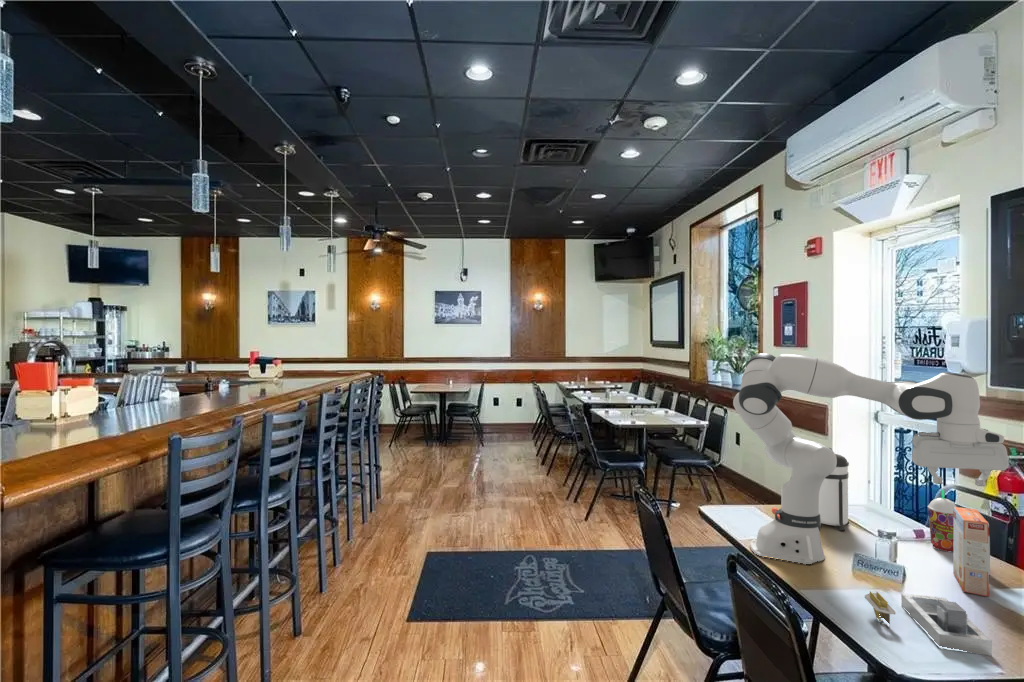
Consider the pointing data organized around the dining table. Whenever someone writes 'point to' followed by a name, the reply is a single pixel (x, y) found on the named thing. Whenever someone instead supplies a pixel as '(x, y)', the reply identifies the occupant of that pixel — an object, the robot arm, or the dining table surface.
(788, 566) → the dining table surface
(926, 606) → the grey rectangular tray
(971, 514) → the cracker box
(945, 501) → the smoothie
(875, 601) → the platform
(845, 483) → the coffee press
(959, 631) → the grey rectangular block
